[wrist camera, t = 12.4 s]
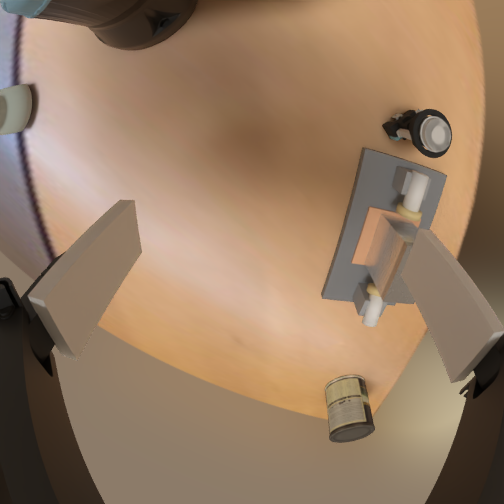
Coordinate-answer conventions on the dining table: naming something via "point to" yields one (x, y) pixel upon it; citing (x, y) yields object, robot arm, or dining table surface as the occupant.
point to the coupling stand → (366, 219)
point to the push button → (422, 131)
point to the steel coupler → (391, 257)
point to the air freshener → (14, 108)
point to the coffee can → (348, 409)
